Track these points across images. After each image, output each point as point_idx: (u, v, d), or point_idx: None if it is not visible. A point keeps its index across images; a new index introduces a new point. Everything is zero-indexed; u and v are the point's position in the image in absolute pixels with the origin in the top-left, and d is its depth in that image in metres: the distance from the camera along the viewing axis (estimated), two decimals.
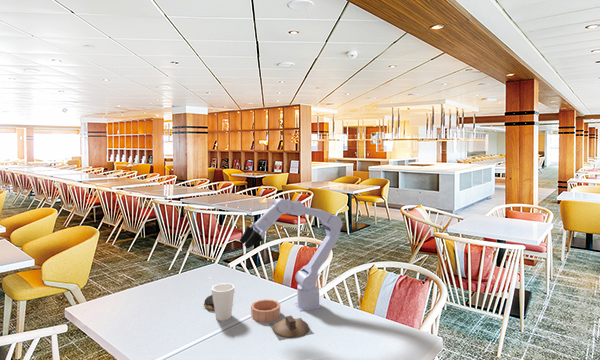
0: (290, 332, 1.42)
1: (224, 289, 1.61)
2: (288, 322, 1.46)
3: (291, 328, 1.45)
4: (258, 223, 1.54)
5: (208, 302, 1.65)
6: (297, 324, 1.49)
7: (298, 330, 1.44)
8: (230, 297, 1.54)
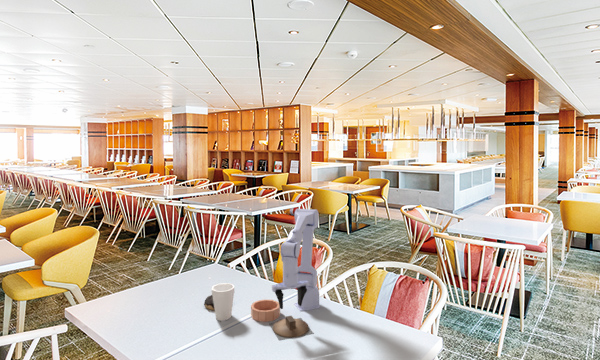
0: (290, 332, 1.42)
1: (224, 289, 1.61)
2: (288, 322, 1.46)
3: (291, 328, 1.45)
4: (296, 282, 1.44)
5: (208, 302, 1.65)
6: (297, 324, 1.49)
7: (298, 330, 1.44)
8: (230, 297, 1.54)
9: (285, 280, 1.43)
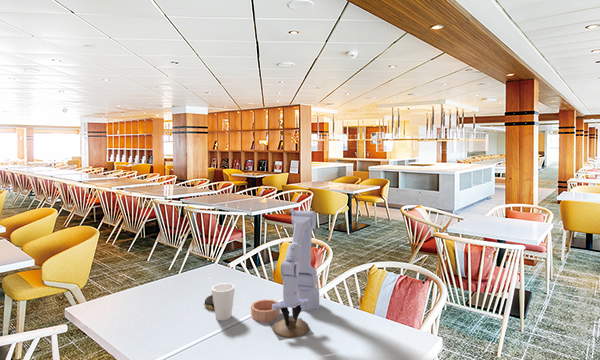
0: (291, 332, 1.43)
1: (224, 289, 1.61)
2: None
3: (291, 327, 1.45)
4: (296, 301, 1.44)
5: (209, 302, 1.65)
6: (297, 324, 1.49)
7: (298, 330, 1.44)
8: (230, 297, 1.54)
9: (285, 299, 1.44)
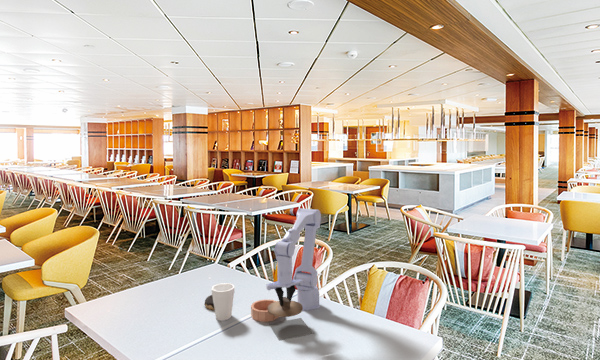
0: (285, 312, 1.44)
1: (224, 289, 1.61)
2: None
3: (286, 308, 1.46)
4: (290, 281, 1.46)
5: (209, 302, 1.66)
6: (291, 305, 1.51)
7: (292, 310, 1.46)
8: (230, 297, 1.54)
9: (279, 279, 1.46)
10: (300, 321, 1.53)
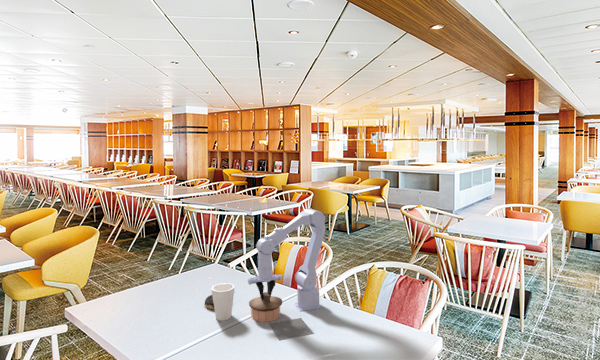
0: (265, 305, 1.54)
1: (224, 289, 1.61)
2: None
3: (266, 302, 1.56)
4: (270, 276, 1.56)
5: (209, 302, 1.66)
6: (272, 300, 1.60)
7: (272, 304, 1.55)
8: (230, 297, 1.54)
9: (260, 274, 1.55)
10: (300, 321, 1.53)
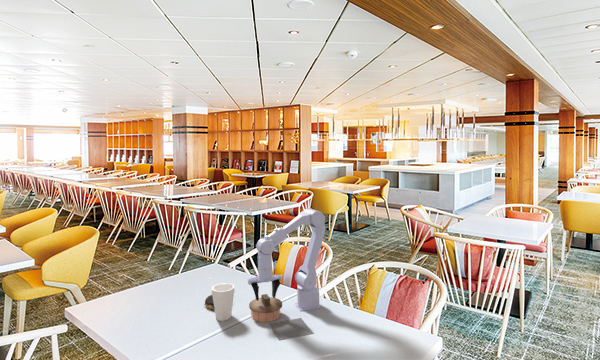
0: (265, 308, 1.54)
1: (224, 289, 1.61)
2: (263, 299, 1.57)
3: (266, 304, 1.56)
4: (270, 276, 1.56)
5: (209, 302, 1.66)
6: (272, 302, 1.60)
7: (272, 307, 1.55)
8: (230, 297, 1.54)
9: (260, 274, 1.55)
10: (300, 321, 1.53)
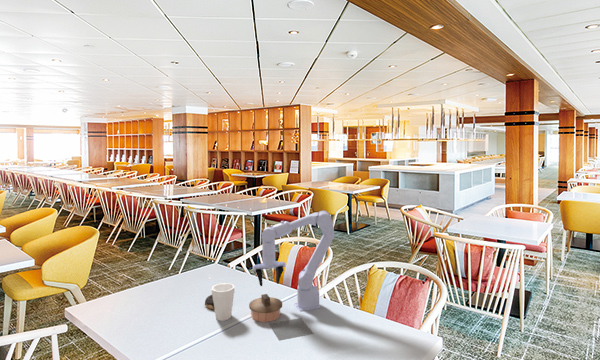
0: (265, 308, 1.54)
1: (224, 289, 1.61)
2: (263, 299, 1.57)
3: (266, 304, 1.56)
4: (273, 262, 1.64)
5: (209, 302, 1.66)
6: (272, 302, 1.60)
7: (272, 307, 1.55)
8: (230, 297, 1.54)
9: (264, 260, 1.64)
10: (300, 321, 1.53)
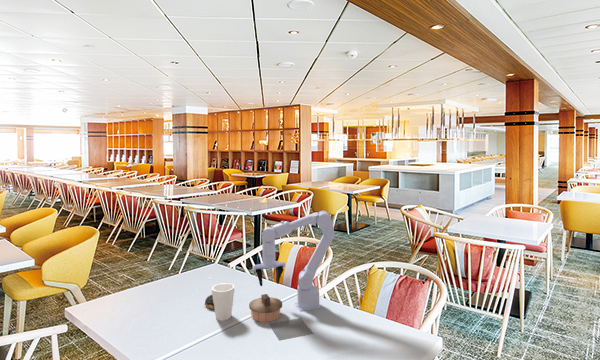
0: (265, 308, 1.54)
1: (224, 289, 1.61)
2: (263, 299, 1.57)
3: (266, 304, 1.56)
4: (273, 262, 1.64)
5: (209, 302, 1.66)
6: (272, 302, 1.60)
7: (272, 307, 1.55)
8: (230, 297, 1.54)
9: (264, 260, 1.64)
10: (300, 321, 1.53)
